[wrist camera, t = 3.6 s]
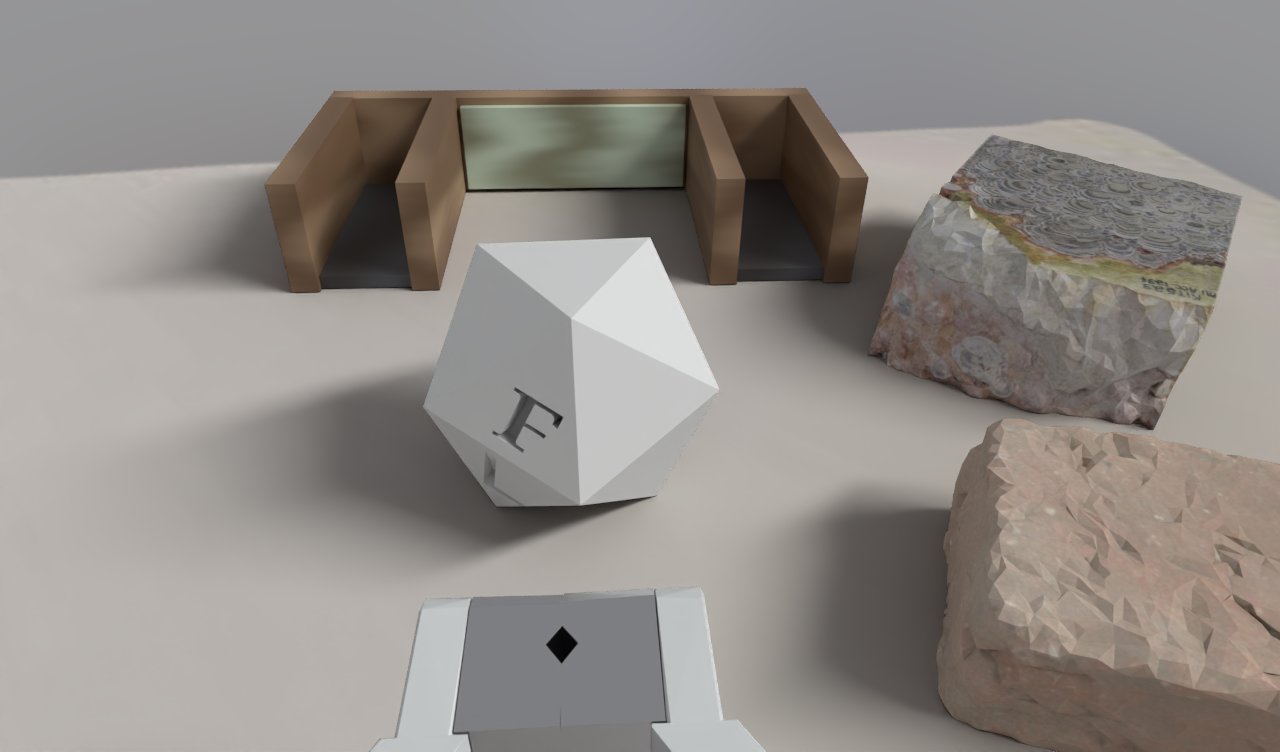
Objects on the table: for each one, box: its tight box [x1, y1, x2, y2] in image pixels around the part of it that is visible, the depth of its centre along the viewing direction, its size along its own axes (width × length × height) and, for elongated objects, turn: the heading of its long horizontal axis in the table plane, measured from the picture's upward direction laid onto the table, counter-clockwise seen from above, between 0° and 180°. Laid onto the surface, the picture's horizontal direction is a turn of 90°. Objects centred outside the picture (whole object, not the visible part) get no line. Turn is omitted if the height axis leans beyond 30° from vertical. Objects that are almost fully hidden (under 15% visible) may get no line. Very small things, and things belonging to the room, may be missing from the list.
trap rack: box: [265, 88, 868, 292], centre depth 42 cm, size 25×12×5 cm, turn 93°
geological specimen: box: [868, 135, 1242, 430], centre depth 36 cm, size 11×6×15 cm
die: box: [423, 237, 719, 507], centre depth 26 cm, size 8×9×10 cm
